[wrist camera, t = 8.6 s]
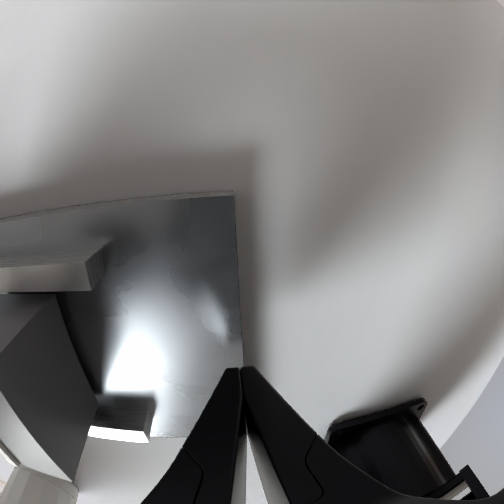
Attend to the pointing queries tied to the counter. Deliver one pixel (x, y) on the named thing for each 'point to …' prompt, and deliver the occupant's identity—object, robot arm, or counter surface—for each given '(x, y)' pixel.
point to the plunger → (41, 388)
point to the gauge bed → (138, 301)
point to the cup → (37, 488)
